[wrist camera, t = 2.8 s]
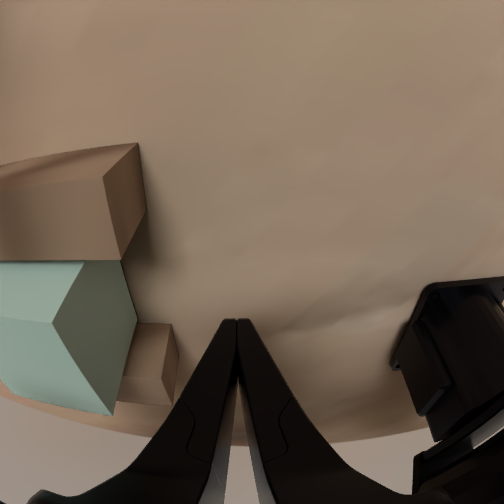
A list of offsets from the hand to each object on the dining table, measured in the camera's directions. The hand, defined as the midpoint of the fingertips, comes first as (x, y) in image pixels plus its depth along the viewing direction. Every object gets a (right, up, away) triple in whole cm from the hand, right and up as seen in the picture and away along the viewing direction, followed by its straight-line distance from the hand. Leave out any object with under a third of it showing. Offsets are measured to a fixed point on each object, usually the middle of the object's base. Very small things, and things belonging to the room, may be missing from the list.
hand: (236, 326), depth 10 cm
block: (-7, +1, +2) cm, 8 cm away
